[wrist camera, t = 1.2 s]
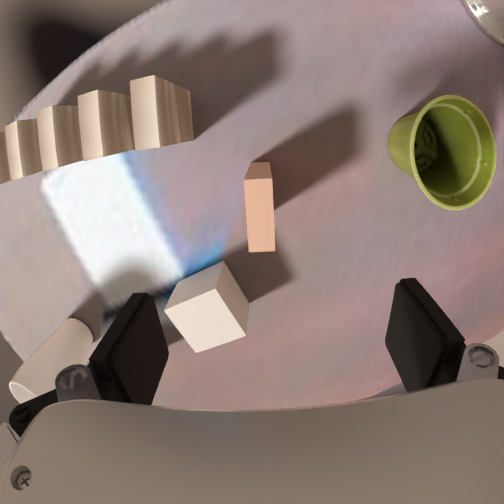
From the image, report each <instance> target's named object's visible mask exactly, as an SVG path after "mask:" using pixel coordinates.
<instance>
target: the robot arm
mask: <svg viewBox="0 0 504 504" xmlns="http://www.w3.org/2000/svg"><path fill="white" fill-rule="evenodd" d="M462 2H463V4H464V6H465V7H466V9H467V11H468V12H469V14H470V15H471V16H472V18H473V19H474V21H475V22H476V23H477V24H478V25H479V26H480V28H481V29H482V30H483V31H484V32H485V33H486V34H487V35H489V36H490V37H491V38H492V39H493V40H495V41H497V42H498V43H500V44H502V45H504V0H462ZM464 341H465V339H464V337H463V336H462V335H461V333H460V332H459V331H458V329H457V328H456V327H455V326H454V324H453V323H452V322H451V320H450V319H449V318H448V317H447V315H446V314H445V313H444V312H443V310H442V309H441V308H440V307H439V305H438V304H437V303H436V302H435V301H434V299H433V298H432V297H431V296H430V295H429V293H428V292H427V291H426V290H425V289H424V288H423V286H422V285H421V284H420V283H419V282H418V281H417V279H416V278H406V279H401V280H400V282H399V283H397V284H396V286H395V292H394V298H393V303H392V309H391V314H390V319H389V324H388V329H387V333H386V338H385V343H386V347H387V349H388V351H389V353H390V356H391V358H392V360H393V362H394V364H395V366H396V369H397V371H398V373H399V375H400V377H401V380H402V382H403V384H404V387H405V389H406V391H407V393H401V394H396V395H391V396H385V397H380V398H374V399H368V400H362V401H354V402H347V403H339V404H330V405H321V406H310V407H298V408H282V409H255V410H219V409H192V408H176V407H163V406H152V405H151V404H152V401H153V398H154V395H155V393H156V390H157V387H158V384H159V381H160V379H161V376H162V373H163V370H164V368H165V365H166V362H167V360H168V356H169V351H168V347H167V344H166V340H165V337H164V334H163V330H162V327H161V323H160V320H159V316H158V313H157V309H156V305H155V301H154V298H153V297H152V296H149V294H148V293H133V294H132V295H131V297H130V298H129V300H128V301H127V303H126V304H125V305H124V307H123V308H122V310H121V311H120V313H119V314H118V316H117V317H116V319H115V320H114V321H113V323H112V324H111V326H110V327H109V329H108V330H107V332H106V333H105V335H104V336H103V338H102V340H101V341H100V343H99V344H98V346H97V347H96V349H95V350H94V352H93V353H92V355H91V357H90V358H89V361H90V362H89V364H88V365H87V366H85V365H82V364H74V365H71V366H68V367H66V368H64V369H63V370H62V371H60V373H59V374H58V375H57V377H56V379H55V387H56V389H54V390H51V391H49V392H47V393H45V394H42V395H40V396H38V397H35V398H33V399H31V400H28V401H26V402H24V403H21V404H20V405H18V406H16V407H15V408H14V409H13V411H12V412H11V414H10V417H9V424H8V425H7V424H6V423H5V422H4V423H3V424H2V425H1V426H0V504H504V368H503V367H501V366H499V357H498V355H497V353H496V352H495V351H494V349H492V348H490V347H489V346H487V345H485V344H480V343H473V344H471V345H469V346H466V345H465V343H464Z"/></svg>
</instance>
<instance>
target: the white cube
mask: <svg viewBox="0 0 504 504" xmlns="http://www.w3.org/2000/svg"><path fill="white" fill-rule="evenodd" d="M248 311H249V302H248V300H247V299H246V297H245V295H244V294H243V292H242V290H241V289H240V287H239V286H238V284H237V282H236V281H235V279H234V277H233V276H232V274H231V272H230V271H229V269H228V267H227V265H226V264H225V262H224V261H222V262H219V263H217V264H215V265H213V266H211V267H208V268H206V269H204V270H202V271H200V272H198V273H195V274H193V275H191V276H189V277H187V278H185V279H182V280H180V281H178V283H177V285H176V287H175V289H174V291H173V293H172V295H171V297H170V299H169V301H168V303H167V305H166V307H165V308H164V312H165V313H166V314H167V316H168V317H169V318H170V320H171V321H172V322H173V324H174V325H175V326H176V328H177V329H178V330H179V332H180V333H181V334H182V336H183V337H184V338H185V339H186V341H187V342H188V343H189V345H190V346H191V347H192V348H193V350H194V351H195V352H196V353H197V352H200V351H203V350H206V349H209V348H212V347H215V346H218V345H221V344H224V343H227V342H230V341H233V340H236V339H238V338H241V337H244V336H246V334H247V323H248Z"/></svg>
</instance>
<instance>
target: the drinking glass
mask: <svg viewBox="0 0 504 504" xmlns="http://www.w3.org/2000/svg"><path fill="white" fill-rule="evenodd" d="M92 342H93V337H92V333H91V331H90V330H89V328H88V327H87V326H86V325H85V324H84V323H83V322H82V321H80V320H78V319H75V318H69V319H66V320H65V321H64V322H63V323H62V324H61V326H60V327H59V328H58V329H57V330H56V331H55V332H54V333H53V334H52V335H51V336H50V337H49V338H48V339H47V340H46V341H45V342H44V343H43V344H42V345H41V346H40V347H39V348H38V349H37V350H36V351H35V352H34V353H33V354H32V355H31V356H30V357H29V358H28V359H27V360H26V361H25V362H24V363H23V364H22V366H21V367H20V368H19V369H18V371H17V372H16V374H15V375H14V377H13V378H12V380H11V381H10V383H9V388H10V390H11V392H12V394H13V396H14V397H15V398H16V400H17V401H18V402H19V403H20V404H21V403H24V402H26V401H28V400H31V399H33V398H35V397H38V396H40V395H42V394H45V393H47V392H49V391H51V390H54V389H56V387H55V379H56V377H57V375H58V374H59V373H60V371H62V370H63V369H64V368H66V367H68V366H71V365H74V364H81V362H82V360H83V358H84V356H85V354H86V352H87V351H88V349H89V348H90V346H91V345H92Z"/></svg>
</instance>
